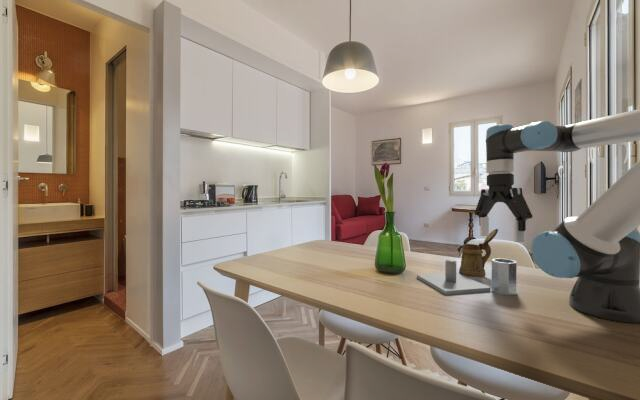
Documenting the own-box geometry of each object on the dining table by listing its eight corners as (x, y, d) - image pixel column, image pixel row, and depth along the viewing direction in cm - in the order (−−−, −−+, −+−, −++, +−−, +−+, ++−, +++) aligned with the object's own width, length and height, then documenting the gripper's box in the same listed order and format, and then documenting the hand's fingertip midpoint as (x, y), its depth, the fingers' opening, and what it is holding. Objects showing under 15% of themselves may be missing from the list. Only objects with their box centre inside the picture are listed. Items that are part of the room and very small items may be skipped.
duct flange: (490, 291, 92) (490, 266, 92) (445, 294, 89) (445, 269, 89) (455, 275, 110) (455, 254, 109) (416, 277, 107) (416, 256, 107)
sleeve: (521, 294, 89) (521, 262, 89) (503, 295, 88) (503, 263, 87) (504, 287, 95) (504, 257, 95) (487, 288, 94) (487, 258, 94)
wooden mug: (501, 278, 105) (501, 230, 104) (460, 275, 109) (460, 229, 109) (495, 272, 113) (495, 227, 113) (457, 269, 118) (457, 226, 117)
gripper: (546, 169, 81) (547, 243, 81) (480, 176, 105) (481, 233, 106) (525, 169, 79) (526, 245, 80) (463, 176, 104) (463, 234, 104)
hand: (500, 238), depth 93 cm, fingers open, 13 cm apart
